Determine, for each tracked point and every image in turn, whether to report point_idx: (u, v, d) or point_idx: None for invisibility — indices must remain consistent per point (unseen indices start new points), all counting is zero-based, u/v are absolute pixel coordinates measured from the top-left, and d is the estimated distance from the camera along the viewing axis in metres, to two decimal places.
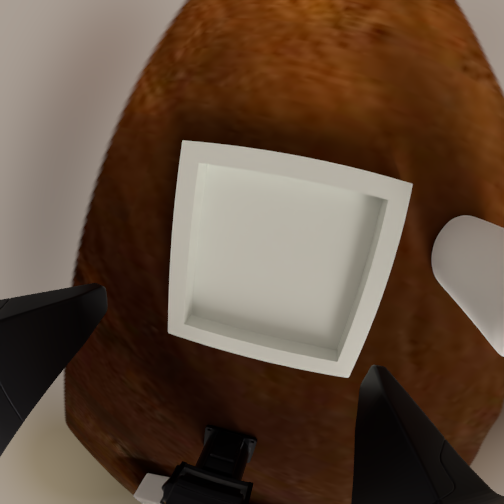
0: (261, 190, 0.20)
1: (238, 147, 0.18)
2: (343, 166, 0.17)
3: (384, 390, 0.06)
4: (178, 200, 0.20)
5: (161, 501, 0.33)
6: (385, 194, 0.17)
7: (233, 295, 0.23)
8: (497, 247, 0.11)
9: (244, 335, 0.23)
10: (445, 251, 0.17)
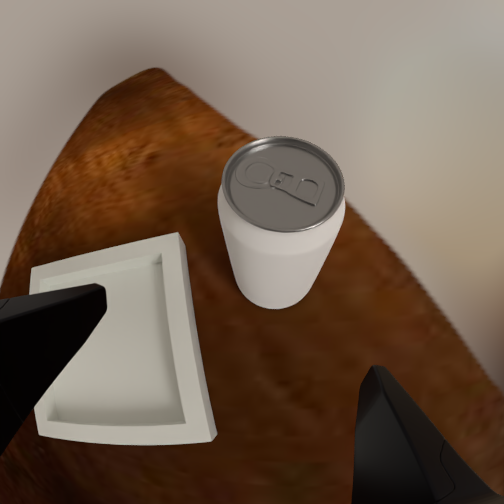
0: None
1: (60, 261, 0.22)
2: (123, 245, 0.22)
3: (384, 390, 0.06)
4: None
5: None
6: (158, 249, 0.22)
7: (81, 389, 0.19)
8: None
9: (96, 424, 0.17)
10: None
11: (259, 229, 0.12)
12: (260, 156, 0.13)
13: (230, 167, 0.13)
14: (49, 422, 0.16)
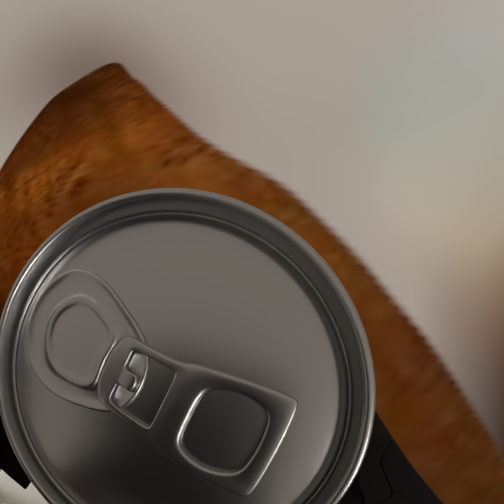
0: None
1: None
2: None
3: None
4: None
5: None
6: None
7: None
8: None
9: None
10: None
11: None
12: (89, 272, 0.04)
13: (21, 308, 0.03)
14: None
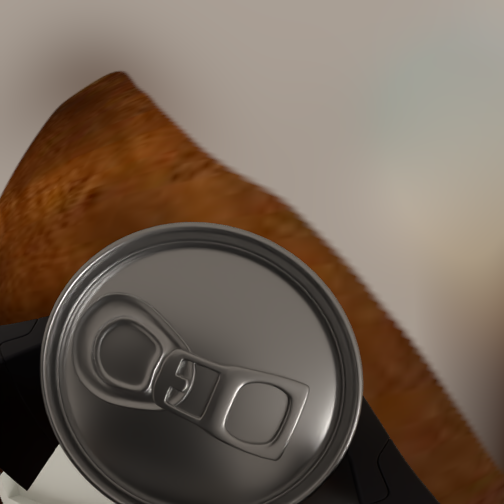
0: None
1: None
2: None
3: None
4: None
5: None
6: None
7: None
8: None
9: None
10: None
11: None
12: (131, 295, 0.05)
13: (60, 329, 0.04)
14: (10, 500, 0.08)
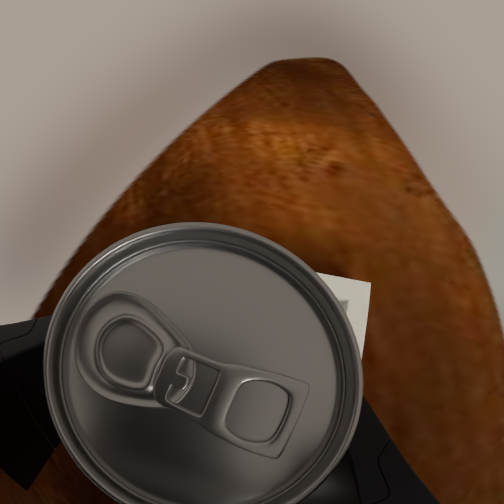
0: None
1: None
2: None
3: None
4: None
5: None
6: (345, 294, 0.18)
7: None
8: None
9: None
10: None
11: (142, 502, 0.03)
12: (133, 294, 0.05)
13: (63, 327, 0.04)
14: None
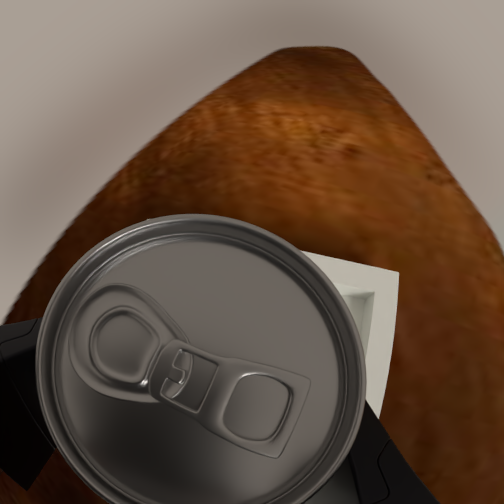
0: None
1: None
2: (322, 256, 0.16)
3: None
4: None
5: None
6: (371, 285, 0.15)
7: None
8: None
9: None
10: None
11: (134, 503, 0.03)
12: (130, 285, 0.05)
13: (58, 319, 0.04)
14: None
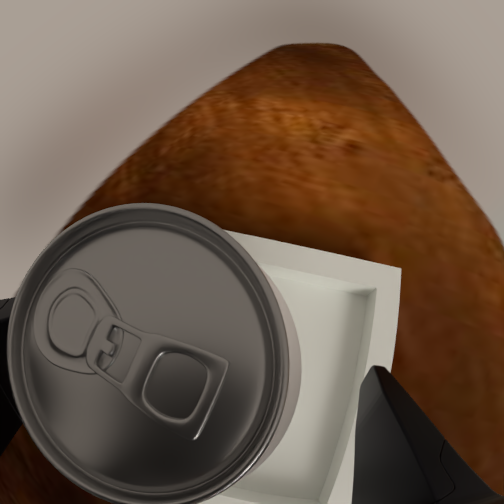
0: None
1: None
2: (323, 252, 0.16)
3: (384, 390, 0.06)
4: None
5: None
6: (373, 281, 0.15)
7: None
8: None
9: None
10: None
11: (76, 470, 0.03)
12: (80, 270, 0.05)
13: (28, 301, 0.05)
14: None
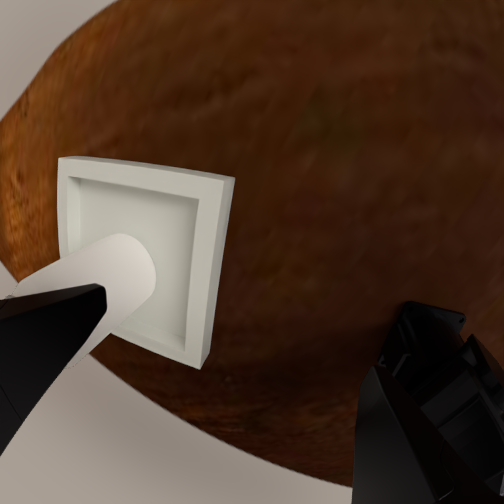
0: None
1: None
2: (57, 210, 0.21)
3: (384, 390, 0.06)
4: None
5: None
6: (65, 178, 0.20)
7: (163, 298, 0.24)
8: None
9: None
10: None
11: None
12: None
13: None
14: (186, 349, 0.23)
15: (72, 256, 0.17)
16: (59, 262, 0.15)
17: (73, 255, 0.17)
